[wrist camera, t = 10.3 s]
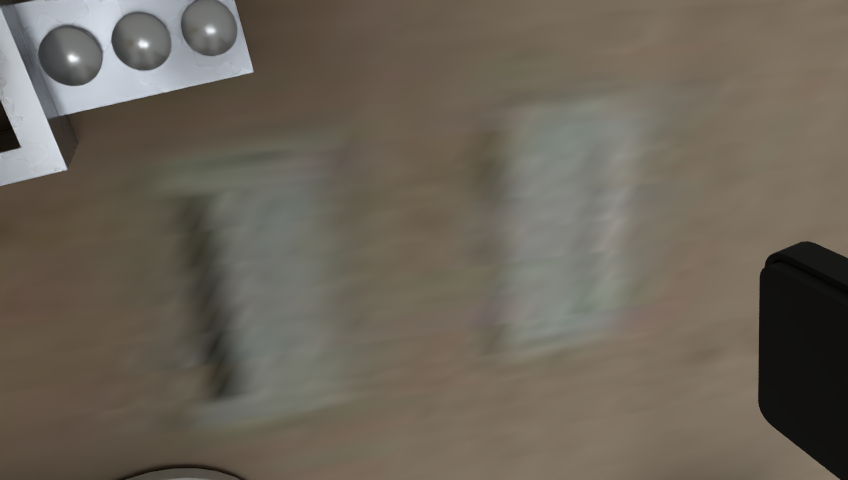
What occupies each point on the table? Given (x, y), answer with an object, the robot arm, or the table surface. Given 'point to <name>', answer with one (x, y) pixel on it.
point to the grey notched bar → (101, 65)
